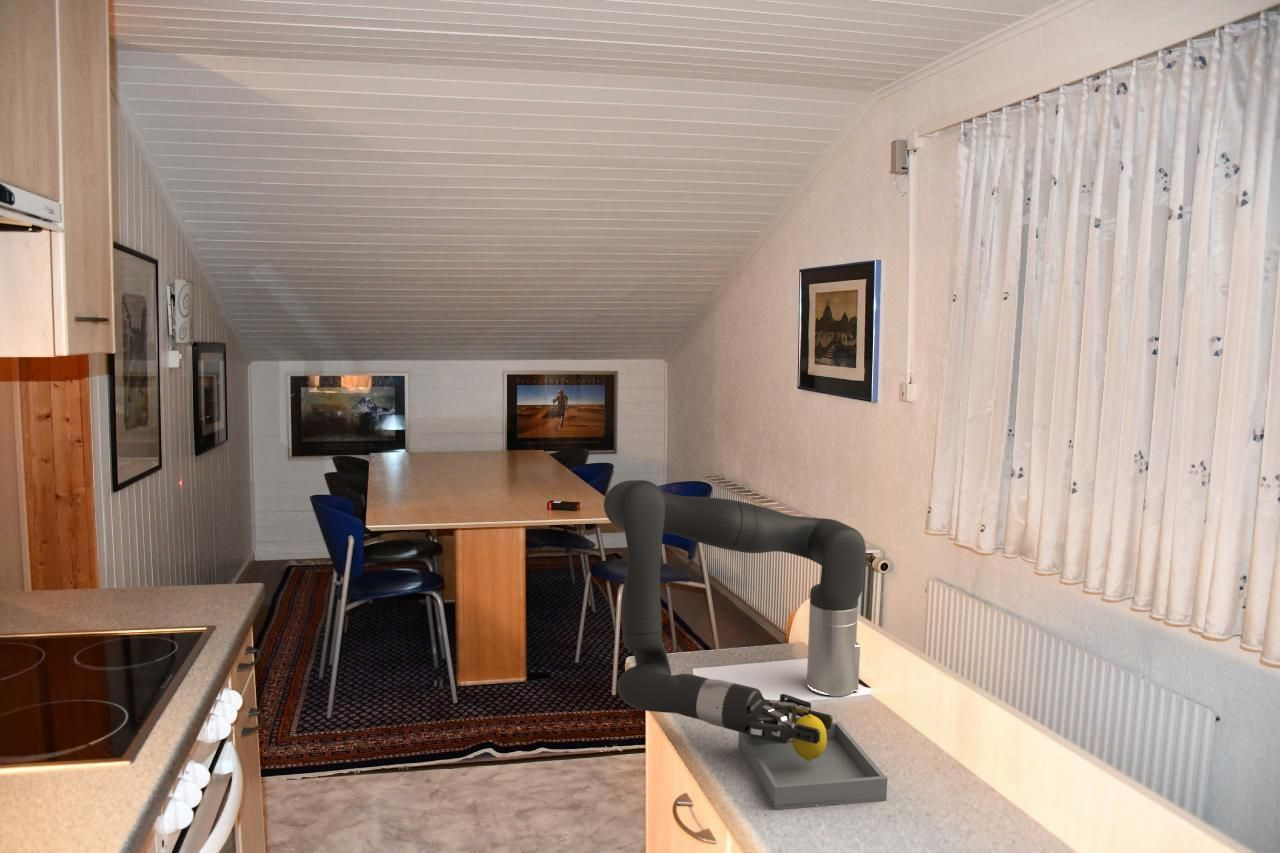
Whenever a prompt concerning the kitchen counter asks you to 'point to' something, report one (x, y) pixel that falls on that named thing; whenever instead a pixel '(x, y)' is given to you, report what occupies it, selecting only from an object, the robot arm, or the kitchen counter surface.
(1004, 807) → the kitchen counter surface
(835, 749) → the tray
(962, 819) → the kitchen counter surface
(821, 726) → the lemon
